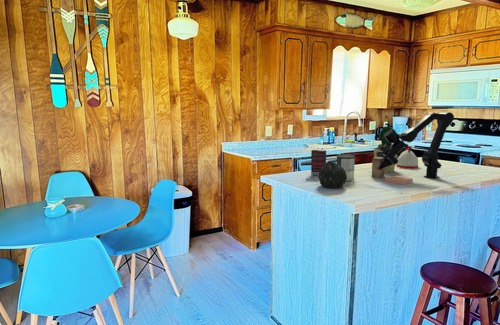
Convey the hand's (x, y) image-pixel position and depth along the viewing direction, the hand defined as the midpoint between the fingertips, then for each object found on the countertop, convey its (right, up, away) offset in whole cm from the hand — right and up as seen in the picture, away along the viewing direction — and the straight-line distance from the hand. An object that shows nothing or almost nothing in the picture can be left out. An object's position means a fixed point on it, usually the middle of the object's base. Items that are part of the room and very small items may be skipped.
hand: (376, 167), depth 203 cm
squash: (-30, -10, -18) cm, 36 cm away
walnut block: (+1, -6, +1) cm, 7 cm away
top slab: (+8, -7, -13) cm, 17 cm away
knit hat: (+37, 0, +40) cm, 54 cm away
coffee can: (-18, -7, 0) cm, 20 cm away
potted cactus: (+16, -2, +27) cm, 31 cm away
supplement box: (-31, -5, +13) cm, 34 cm away
